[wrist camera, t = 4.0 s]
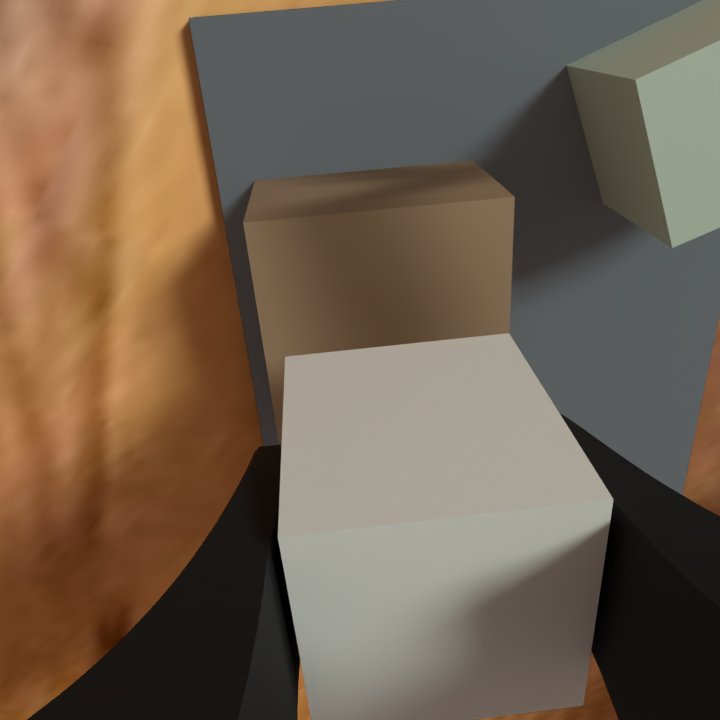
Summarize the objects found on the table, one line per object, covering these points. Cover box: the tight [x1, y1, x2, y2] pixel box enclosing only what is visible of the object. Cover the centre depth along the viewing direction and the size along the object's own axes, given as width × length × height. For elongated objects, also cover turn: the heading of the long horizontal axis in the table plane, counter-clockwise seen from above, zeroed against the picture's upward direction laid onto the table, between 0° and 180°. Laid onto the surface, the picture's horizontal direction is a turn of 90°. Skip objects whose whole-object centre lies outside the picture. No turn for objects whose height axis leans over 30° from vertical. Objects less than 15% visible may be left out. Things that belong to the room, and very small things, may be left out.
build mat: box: [189, 0, 720, 495], centre depth 21 cm, size 15×22×1 cm
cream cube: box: [278, 333, 613, 720], centre depth 12 cm, size 4×4×5 cm
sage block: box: [566, 0, 720, 248], centre depth 16 cm, size 4×4×4 cm
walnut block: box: [243, 160, 515, 445], centre depth 18 cm, size 6×8×4 cm
